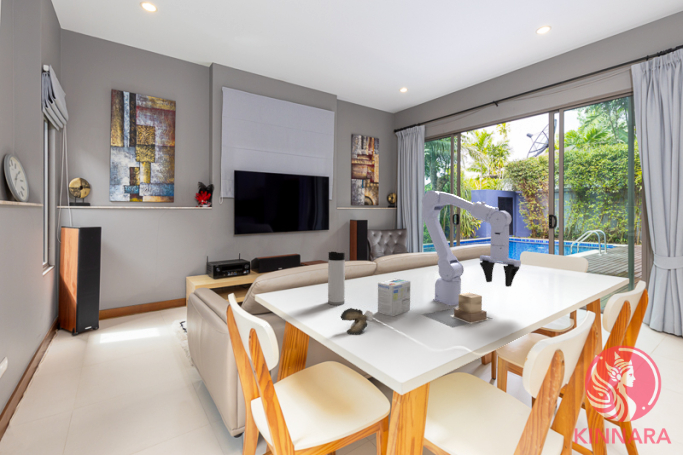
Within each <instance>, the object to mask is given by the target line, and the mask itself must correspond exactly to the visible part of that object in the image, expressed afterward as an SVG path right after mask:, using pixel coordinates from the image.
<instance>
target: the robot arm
mask: <svg viewBox="0 0 683 455" xmlns="http://www.w3.org/2000/svg"><path fill="white" fill-rule="evenodd" d="M421 203H422V214H421V216H422V220H423V222H424V225H425V226H426V229H427V232H428V235H429V237H430V239H431V242H432V245H433V247H434V249H435V252H436V255H437V257H438V260H437V266H438V275H439V278H437V279H436V281H435V283H434V298H432V299H433V301H436V302H438V303H442V304H445V305H448V306H457V305H458V302H459V294H462V292H461V290H462V289H461V288H462V278H461V277H462V275H463V274H464V270H465V269H464V266H463V264H462V263H461V262H460V261H459V260H458V258H457V256H456V255H455V254H454V253H453V252H452V249H451V247H450V245H449V242H448V239H447V238H446V235H445V233H444V230H443V228H442V225H441V223H440V220H439V217H438V216H439V214H440V212H441V211H442V209H444V208H445V206H447V205H448V206H450V205H452V206H454V207H457V208H460V209H462V210H465V211H468V212H469V213H470V216H471V217H473V218H474V219H478V220H480V221H482V222H485V223H486V224H489V225H490V226H491V228H490V230H491V231H490V249H489V250H490V252H489V253H490V254H489V255H483V254H482V255H479V261H480V262H479V266H480V267H481V269H482V270H483V273H484V274H483V275H484V278H485V281H486V282H485V283H491V282H493V272H494V266H495V264H500V265H501V264H502V265H503V270H504V278H505V279H504V280H505V281H504V285H505V287H507V288H508V287H509V288H510V287H512V284H513V281H514V278H515V276H516V274H518V273H517V272H518V271H519V270H520V267H521V262H522V260H519V259H514V258H510V257H509V256H510V255H509V253H510V252H509V251H510V248H509V247H510V245H509V244H510V224H511V222H512V215H511V214H510V212H508V211H506V210H500V209H499V207H497V206H495V207H493V206H490V205H488V204H487V203H486V202H485V201H481V202H480V201H476V202H474V203H473V202H471V201H469V200H466V199H464V198H462V197H460V196H457V195H455V194H452V193H449V192H445V191H436V190H427V191H426V192H425V193H424V194H423V197H422V199H421Z"/></svg>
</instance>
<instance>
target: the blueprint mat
mask: <svg viewBox="0 0 683 455" xmlns="http://www.w3.org/2000/svg"><path fill="white" fill-rule="evenodd" d="M456 308H457V307H454V308H448V309H442V310H436V311H433V312H426V313H420V315H422V316H424V317H427V318H429V319H431V320H434V321H436V322H439V323H441V324H443V325H445V326H449V327H450V328H456V327H461V326H465V325H473V324H475V323H480V322H484V321H491V320H493V318H492V317H489V316H487V318H486V319H485V320H480V321H476V322H469V321H466V320H463V319H460V318H458V317H455V316H454V309H456Z"/></svg>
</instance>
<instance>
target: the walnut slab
mask: <svg viewBox="0 0 683 455" xmlns="http://www.w3.org/2000/svg"><path fill="white" fill-rule="evenodd" d="M455 308H456V309H454V316H455V317H458V318H460V319H463V320H466V321H469V322H476V321H480V320H485V319H486V318H487V317H488V316H487V311H486V310H483V309H482V311H480V312H475V313H468V312H465V311H462V310H459V309H458V307H455ZM485 321H486V320H485ZM480 322H481V321H480ZM476 323H477V322H476Z"/></svg>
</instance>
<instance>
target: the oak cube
mask: <svg viewBox="0 0 683 455" xmlns="http://www.w3.org/2000/svg"><path fill="white" fill-rule="evenodd" d="M482 298H483V296H482V295H479V294H477V293H472V292H465V293H461V294H459V302H458V304H457V305H458V306H457V308H458V309H459V310H462V311H465V312H468V313H475V312H480V311H482V310H483V309H482V305H483V304H482V303H483V299H482Z"/></svg>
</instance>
